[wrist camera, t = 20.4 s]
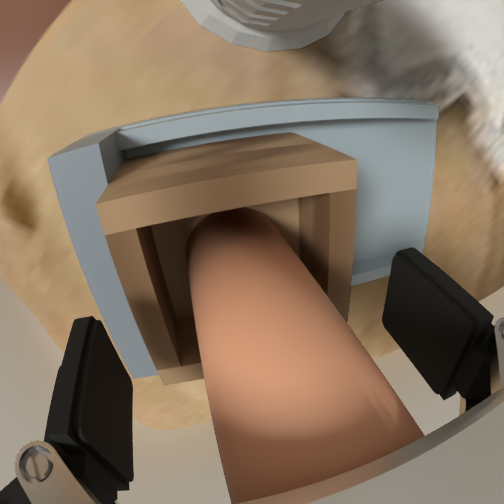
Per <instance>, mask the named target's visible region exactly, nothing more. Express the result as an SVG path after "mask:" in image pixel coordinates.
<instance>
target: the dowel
mask: <svg viewBox="0 0 504 504" xmlns="http://www.w3.org/2000/svg"><path fill="white" fill-rule="evenodd" d="M186 261H187V269H188V276H189V284H190V291H191V298H192V305H193V312H194V319H195V325H196V332H197V338H198V344H199V350H200V356H201V362H202V368H203V373H204V379H205V384H206V390H207V395H208V400H209V406H210V411H211V416H212V421H213V425H214V430H215V435H216V440H217V444H218V448H219V453H220V458H221V462H222V466H223V470H224V475H225V479H226V483H227V487H228V491H229V495H230V499H231V503H232V504H237V503H242V502H246V501H251V500H256V499H260V498H264V497H268V496H272V495H276V494H280V493H284V492H287V491H291V490H294V489H298V488H301V487H304V486H308V485H311V484H314V483H317V482H320V481H323V480H326V479H329V478H332V477H334V476H337V475H340V474H343V473H345V472H348V471H350V470H353V469H355V468H358V467H360V466H363V465H365V464H368V463H370V462H372V461H375V460H377V459H379V458H381V457H384V456H386V455H388V454H390V453H392V452H394V451H397V450H399V449H401V448H403V447H405V446H407V445H409V444H411V443H413V442H415V441H416V440H418V439H420V438H422V437H424V434H423V432H422V431H421V429H420V428H419V426H418V425H417V423H416V422H415V421H414V419H413V417H412V416H411V414H410V413H409V412H408V410H407V409H406V407H405V406H404V404H403V403H402V401H401V400H400V398H399V397H398V395H397V394H396V392H395V391H394V389H393V388H392V387H391V385H390V384H389V382H388V381H387V379H386V378H385V376H384V375H383V374H382V372H381V371H380V369H379V368H378V366H377V365H376V364H375V362H374V361H373V359H372V358H371V356H370V355H369V353H368V352H367V351H366V349H365V348H364V346H363V345H362V344H361V342H360V341H359V339H358V338H357V337H356V335H355V334H354V332H353V331H352V330H351V328H350V327H349V325H348V324H347V323H346V321H345V320H344V318H343V317H342V316H341V314H340V313H339V312H338V310H337V309H336V307H335V306H334V305H333V303H332V302H331V300H330V299H329V298H328V296H327V295H326V294H325V292H324V291H323V290H322V288H321V287H320V285H319V284H318V283H317V281H316V280H315V279H314V277H313V276H312V275H311V273H310V272H309V271H308V269H307V268H306V267H305V265H304V264H303V263H302V261H301V260H300V259H299V257H298V256H297V255H296V253H295V252H294V251H293V249H292V248H291V247H290V245H289V244H288V243H287V241H286V240H285V239H284V237H283V236H282V235H281V233H280V232H279V231H278V229H277V228H276V227H275V226H274V224H273V223H272V222H271V221H270V220H269V218H267V217H266V216H265V215H264V214H262V213H260V212H259V211H256V210H254V209H251V208H247V207H241V208H236V209H230V210H225V211H219V212H214V213H211V214H209V215H208V216H206V217H205V218H203V219H202V220H201V221H200V222H199V223H198V224H197V225H196V227H195V228H194V229H193V231H192V233H191V234H190V237H189V239H188V242H187V247H186Z"/></svg>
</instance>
